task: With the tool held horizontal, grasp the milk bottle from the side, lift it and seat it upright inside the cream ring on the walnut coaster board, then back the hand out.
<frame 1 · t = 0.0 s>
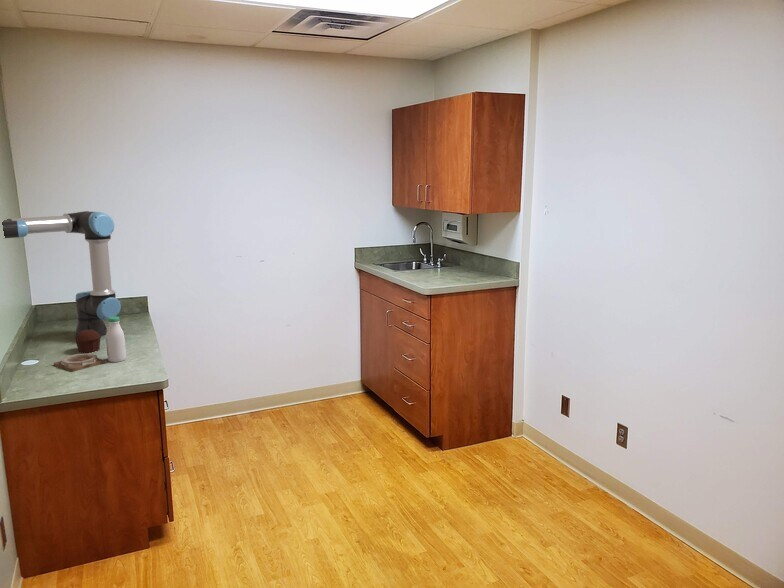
milk bottle: (117, 360, 278), on the counter
ring stand: (79, 364, 271), on the counter
muffin: (89, 351, 291), on the counter
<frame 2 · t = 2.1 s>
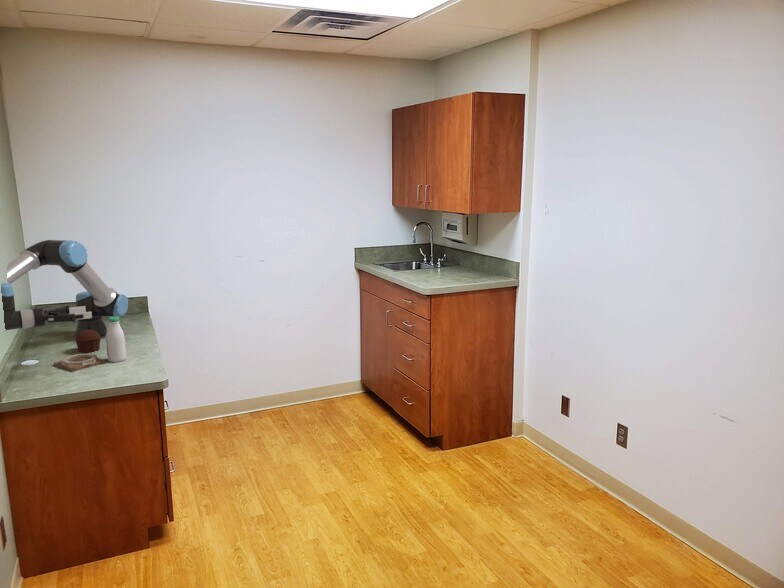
hand: (88, 311, 267), 24 cm above the counter, tool horizontal, fingers open, 13 cm apart
nothing on the counter moved.
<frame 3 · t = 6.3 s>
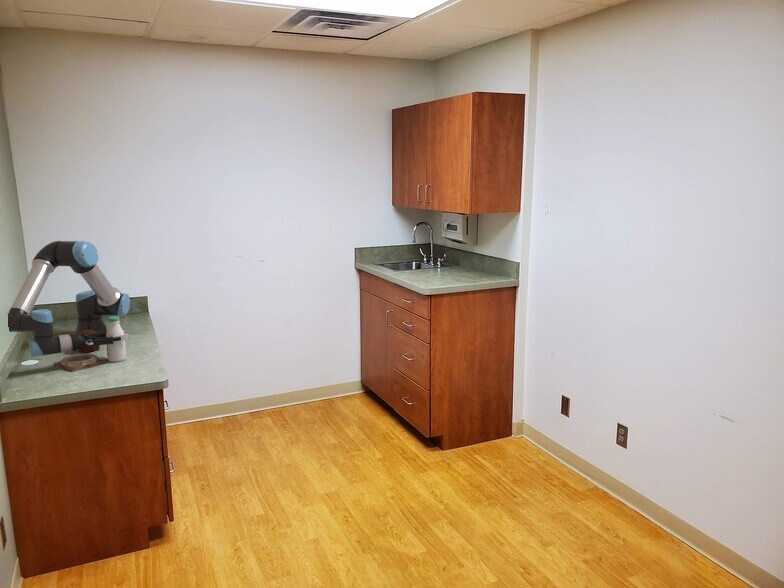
hand: (126, 335, 278), 11 cm above the counter, tool horizontal, fingers closed on milk bottle, 7 cm apart
milk bottle: (117, 360, 278), on the counter, touching gripper
everything else where it was.
when the fingers open (14 cm above the counter, at t = 11.5 s): milk bottle drops 2 cm, resting on ring stand.
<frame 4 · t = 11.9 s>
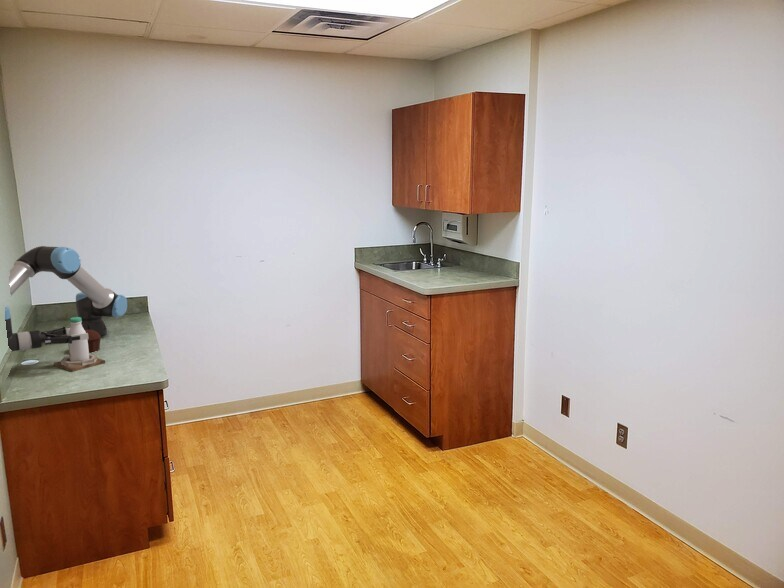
hand: (85, 332, 270), 14 cm above the counter, tool horizontal, fingers open, 13 cm apart
milk bottle: (80, 361, 271), point 1 cm above the counter, touching ring stand
everything else where it was.
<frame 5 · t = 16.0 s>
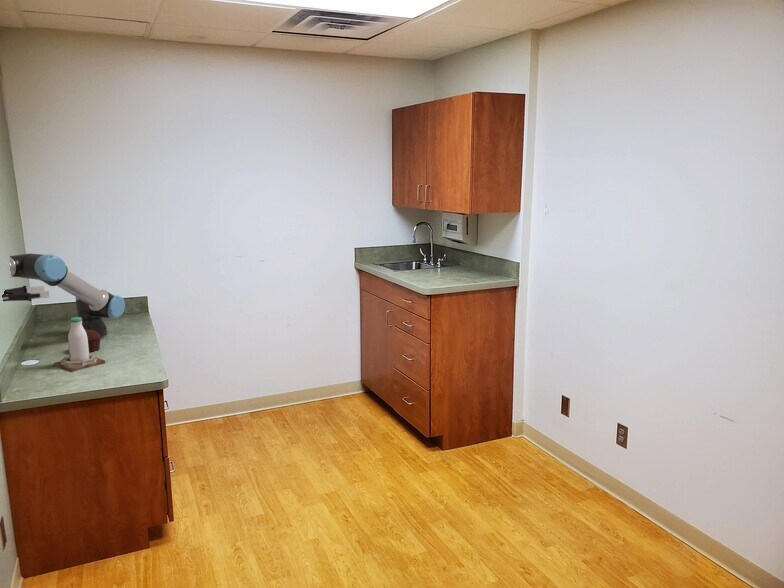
hand: (46, 291, 259), 34 cm above the counter, tool horizontal, fingers open, 13 cm apart
nothing on the counter moved.
at the end: milk bottle 0.2 cm from the ring stand (horizontally); milk bottle tilted 0°; milk bottle point 1.0 cm above the counter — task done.
